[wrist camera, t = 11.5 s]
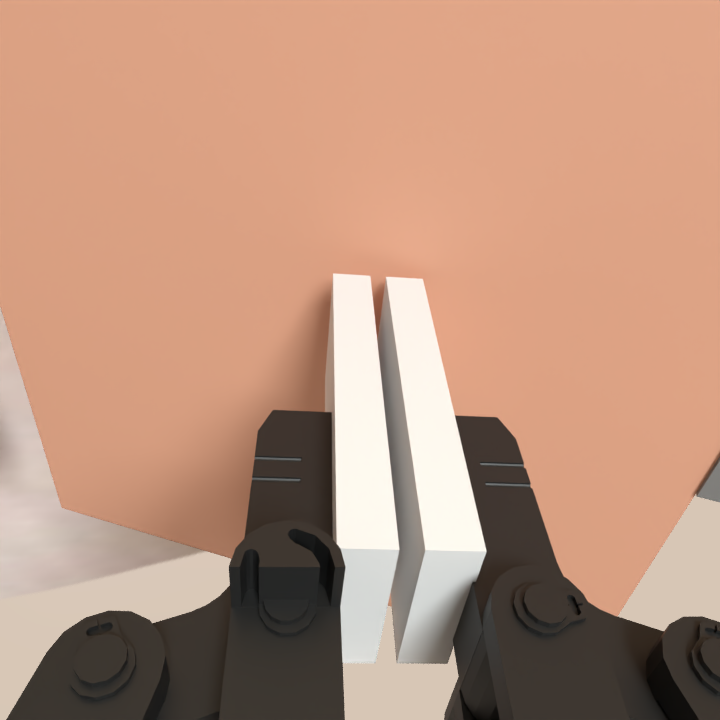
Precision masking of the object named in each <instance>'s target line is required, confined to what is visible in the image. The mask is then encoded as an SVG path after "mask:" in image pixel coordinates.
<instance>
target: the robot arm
mask: <svg viewBox="0 0 720 720" xmlns="http://www.w3.org/2000/svg"><path fill="white" fill-rule="evenodd" d="M530 484H531V482H530V479H529V476H528V473H527V470H526V468H524V461H523V458H522V455H521V452H520V449H519V446H518V443H517V440H516V438H515V437H514V436H513V435H512V434H511V432H510V431H509V430H508V429H507V428H506V427H505V426H504V424H503V423H502V422H501V421H500V420H499V419H498V417H480V416H456V415H455V414H454V410H453V406H452V402H451V397H450V393H449V389H448V385H447V380H446V376H445V372H444V367H443V363H442V359H441V355H440V350H439V346H438V342H437V337H436V333H435V329H434V325H433V320H432V316H431V312H430V308H429V303H428V299H427V295H426V290H425V286H424V282H423V279H417V278H400V277H386V281H385V288H384V296H383V303H382V310H381V318H380V325H379V333H378V340H377V334H376V324H375V315H374V306H373V296H372V287H371V277H370V276H367V275H350V274H334V273H333V280H332V294H331V307H330V320H329V333H328V346H327V359H326V373H325V412H314V411H290V410H272V412H271V413H270V415H269V416H268V417H267V419H266V420H265V422H264V423H263V424H262V426H261V427H260V428H259V430H258V433H257V441H256V449H255V460H254V465H253V473H252V481H251V489H250V497H249V505H248V513H247V521H246V529H245V537H244V539H243V540H242V542H241V543H240V544H239V545H238V546H237V547H236V548H235V551H234V554H233V557H232V560H231V562H230V565H229V577H230V586H229V587H228V588H227V589H226V590H225V591H224V592H223V593H222V594H221V595H220V596H219V597H218V598H216V599H215V600H213V601H212V602H211V603H209V604H207V605H206V606H204V607H201V608H199V609H196V610H194V611H192V612H189V613H186V614H182V615H179V616H176V617H172V618H169V619H166V620H162V621H159V622H156V623H151V621H150V620H148V619H146V618H144V617H141V616H140V615H137V614H135V613H133V612H129V611H106V612H103V613H100V614H96V615H93V616H90V617H86V618H84V619H83V620H81V621H80V622H78V623H77V624H75V625H74V626H72V627H71V628H69V629H68V630H66V631H65V632H63V634H62V635H61V636H60V637H59V638H58V640H57V641H56V642H55V643H54V644H53V646H52V647H51V648H50V649H49V650H48V652H47V653H46V655H45V656H44V658H43V660H42V661H41V663H40V665H39V666H38V668H37V670H36V671H35V673H34V675H33V676H32V678H31V680H30V681H29V683H28V685H27V686H26V688H25V690H24V691H23V693H22V695H21V697H20V698H19V700H18V701H17V703H16V705H15V706H14V708H13V710H12V711H11V713H10V714H9V716H8V718H7V719H6V720H345V717H344V690H343V665H342V664H343V663H375V662H376V658H377V653H378V648H379V643H380V639H381V634H382V630H383V625H384V620H385V615H386V610H387V606H388V601H389V597H390V592H391V603H392V614H393V626H394V637H395V649H396V660H397V663H432V664H433V663H435V664H436V663H440V664H447V663H448V660H449V657H450V655H451V652H452V649H453V646H454V650H455V656H456V663H457V669H458V674H459V677H458V680H457V683H456V685H455V688H454V690H453V693H452V696H451V699H450V701H449V704H448V706H447V709H446V712H445V718H444V720H720V622H717V621H714V620H711V619H708V618H705V617H682V618H680V619H679V620H677V621H675V622H673V623H671V624H669V626H668V627H667V629H666V630H665V631H664V632H663V631H660V630H657V629H654V628H651V627H648V626H645V625H642V624H639V623H636V622H632V621H629V620H626V619H623V618H619V617H617V616H614V615H612V614H610V613H607V612H605V611H603V610H600V609H599V608H597V607H596V606H594V605H592V604H591V603H589V602H588V601H587V599H586V598H585V596H584V594H583V593H582V592H581V591H580V590H579V589H578V588H577V587H576V586H575V585H574V584H573V583H572V582H571V581H570V580H569V579H567V578H565V577H564V576H563V574H562V572H561V570H560V568H559V565H558V563H557V561H556V558H555V555H554V552H553V549H552V546H551V543H550V540H549V537H548V534H547V531H546V527H545V524H544V521H543V518H542V515H541V512H540V509H539V506H538V503H537V500H536V497H535V494H534V491H533V488H531V487H530Z"/></svg>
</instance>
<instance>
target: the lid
mask: <svg viewBox="0 0 720 720" xmlns="http://www.w3.org/2000/svg"><path fill="white" fill-rule="evenodd" d="M333 273H334V274H350V275H367V276H370V277H371V287H372V296H373V306H374V315H375V324H376V334H377V340H378V333H379V325H380V318H381V310H382V303H383V296H384V288H385V281H386V277H400V278H417V279H423V282H424V286H425V290H426V295H427V299H428V303H429V308H430V312H431V316H432V320H433V325H434V329H435V333H436V337H437V342H438V346H439V350H440V355H441V359H442V363H443V367H444V372H445V376H446V380H447V385H448V389H449V393H450V397H451V402H452V406H453V410H454V414H455V415H456V416H480V417H498V419H499V420H500V421H501V422H502V423H503V424H504V426H505V427H506V428H507V429H508V430H509V431H510V432H511V434H512V435H513V436H514V437H515V438H516V440H517V443H518V446H519V449H520V452H521V455H522V458H523V461H524V468H526V470H527V473H528V476H529V479H530V482H531V484H530V487H531V488H533V491H534V494H535V497H536V500H537V503H538V506H539V509H540V512H541V515H542V518H543V521H544V524H545V527H546V531H547V534H548V537H549V540H550V543H551V546H552V549H553V552H554V555H555V558H556V561H557V563H558V565H559V568H560V570H561V572H562V574H563V576H564V577H565V578H567V579H569V580H570V581H571V582H572V583H573V584H574V585H575V586H576V587H577V588H578V589H579V590H580V591H581V592H582V593H583V594H584V596H585V598H586V599H587V601H588V602H589V603H591V604H592V605H594V606H596V607H597V608H599V609H600V610H603V611H605V612H607V613H610V614H612V615H614V616H618V615H619V613H620V611H621V610H622V608H623V607H624V605H625V604H626V602H627V600H628V599H629V597H630V596H631V594H632V593H633V591H634V590H635V588H636V586H637V585H638V583H639V582H640V580H641V579H642V577H643V575H644V574H645V572H646V571H647V569H648V567H649V566H650V565H651V563H652V561H653V560H654V558H655V557H656V555H657V553H658V552H659V550H660V549H661V547H662V546H663V544H664V543H665V541H666V539H667V538H668V536H669V535H670V533H671V532H672V530H673V528H674V527H675V525H676V524H677V522H678V521H679V519H680V518H681V516H682V514H683V513H684V511H685V510H686V508H687V506H688V505H689V503H690V502H691V500H692V499H693V497H694V496H695V494H696V495H697V497H701V498H705V499H709V500H713V501H717V502H720V0H0V307H1V310H2V313H3V316H4V320H5V323H6V326H7V330H8V333H9V336H10V339H11V343H12V346H13V349H14V353H15V356H16V359H17V362H18V366H19V369H20V372H21V376H22V379H23V382H24V385H25V389H26V392H27V395H28V398H29V402H30V405H31V408H32V412H33V415H34V418H35V421H36V425H37V428H38V431H39V435H40V438H41V441H42V444H43V448H44V451H45V454H46V458H47V461H48V464H49V467H50V471H51V474H52V477H53V480H54V484H55V487H56V490H57V494H58V497H59V500H60V503H61V507H62V508H65V509H68V510H71V511H75V512H78V513H81V514H85V515H88V516H91V517H95V518H98V519H101V520H105V521H108V522H111V523H115V524H118V525H121V526H125V527H128V528H131V529H135V530H138V531H141V532H145V533H148V534H151V535H155V536H158V537H161V538H165V539H168V540H171V541H175V542H178V543H181V544H185V545H188V546H191V547H195V548H198V549H201V550H205V551H208V552H211V553H215V554H218V555H221V556H225V557H228V558H231V559H232V557H233V554H234V551H235V548H236V547H237V546H238V545H239V544H240V543H241V542H242V540H243V539H244V537H245V529H246V521H247V513H248V505H249V497H250V489H251V481H252V473H253V465H254V460H255V449H256V441H257V433H258V430H259V428H260V427H261V426H262V424H263V423H264V422H265V420H266V419H267V417H268V416H269V415H270V413H271V412H272V410H290V411H314V412H325V373H326V359H327V346H328V333H329V320H330V307H331V294H332V280H333ZM388 606H392V603H391V592H390V597H389V601H388Z"/></svg>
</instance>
